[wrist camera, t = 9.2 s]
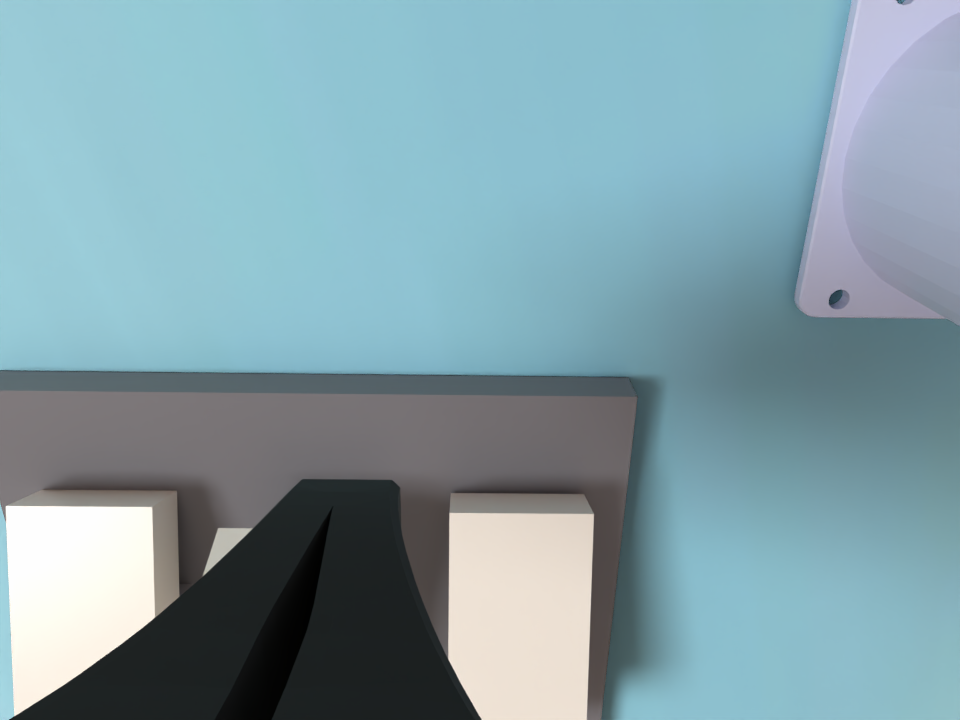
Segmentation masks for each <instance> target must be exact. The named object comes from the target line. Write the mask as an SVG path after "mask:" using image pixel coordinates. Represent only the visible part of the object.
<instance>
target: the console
mask: <svg viewBox="0 0 960 720" xmlns="http://www.w3.org/2000/svg"><path fill="white" fill-rule="evenodd" d="M637 398H638V397H637V395H636V393H635V390H634V388H633V386H632V384H631V382H630V380H629V378H628V377H537V376H441V375H346V374H250V373H154V372H59V371H0V503H1V507H2V510H3V514H4V517H5V521H6V506H7V505H9V504H11V503H14V502H16V501H18V500H20V499H22V498H25V497H27V496H29V495H31V494H33V493H36V492H38V491H40V490H158V491H177V510H178V556H179V597H180V596H181V595H182V594H183V593H184V592H185V591H187V590H188V589H189V588H190V587H191V586H192V585H193V584H195V583H196V582H197V581H198V580H199V579H200V578H201V577H203V574H204V570H205V567H206V564H207V561H208V558H209V555H210V552H211V549H212V546H213V543H214V539H215V536H216V533H217V530H218V528H254V527H255V526H256V525H257V524H258V523H259V522H260V521H261V520H262V519H263V518H264V516H265V515H266V514H267V513H268V512H269V511H270V510H271V509H272V508H273V507H274V506H275V505H276V504H277V503H278V502H279V501H280V500H281V499H282V498H283V497H284V496H285V495H286V494H287V493H288V492H289V491H290V490H291V489H292V488H293V487H294V486H295V485H296V484H297V483H299V482H300V481H301V480H302V479H362V480H393V481H394V482H395V483H396V484H397V485H398V486H399V487H400V496H401V530H402V536H403V540H404V544H405V548H406V552H407V555H408V559H409V562H410V565H411V568H412V572H413V575H414V578H415V581H416V584H417V587H418V590H419V593H420V595H421V598H422V601H423V603H424V606H425V608H426V610H427V613H428V615H429V618H430V620H431V623H432V625H433V627H434V630H435V632H436V634H437V636H438V639H439V641H440V643H441V645H442V647H443V649H444V651H445V654H446V656H447V658H448V631H449V513H450V497H451V493H517V494H584V495H585V497H586V499H587V501H588V503H589V505H590V507H591V509H592V511H593V513H594V526H593V555H592V583H591V612H590V640H589V669H588V697H587V720H601V715H602V706H603V697H604V689H605V680H606V671H607V662H608V653H609V644H610V636H611V627H612V618H613V609H614V600H615V592H616V583H617V574H618V565H619V556H620V547H621V539H622V530H623V521H624V512H625V503H626V495H627V486H628V477H629V468H630V459H631V450H632V442H633V433H634V424H635V415H636V406H637Z"/></svg>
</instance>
